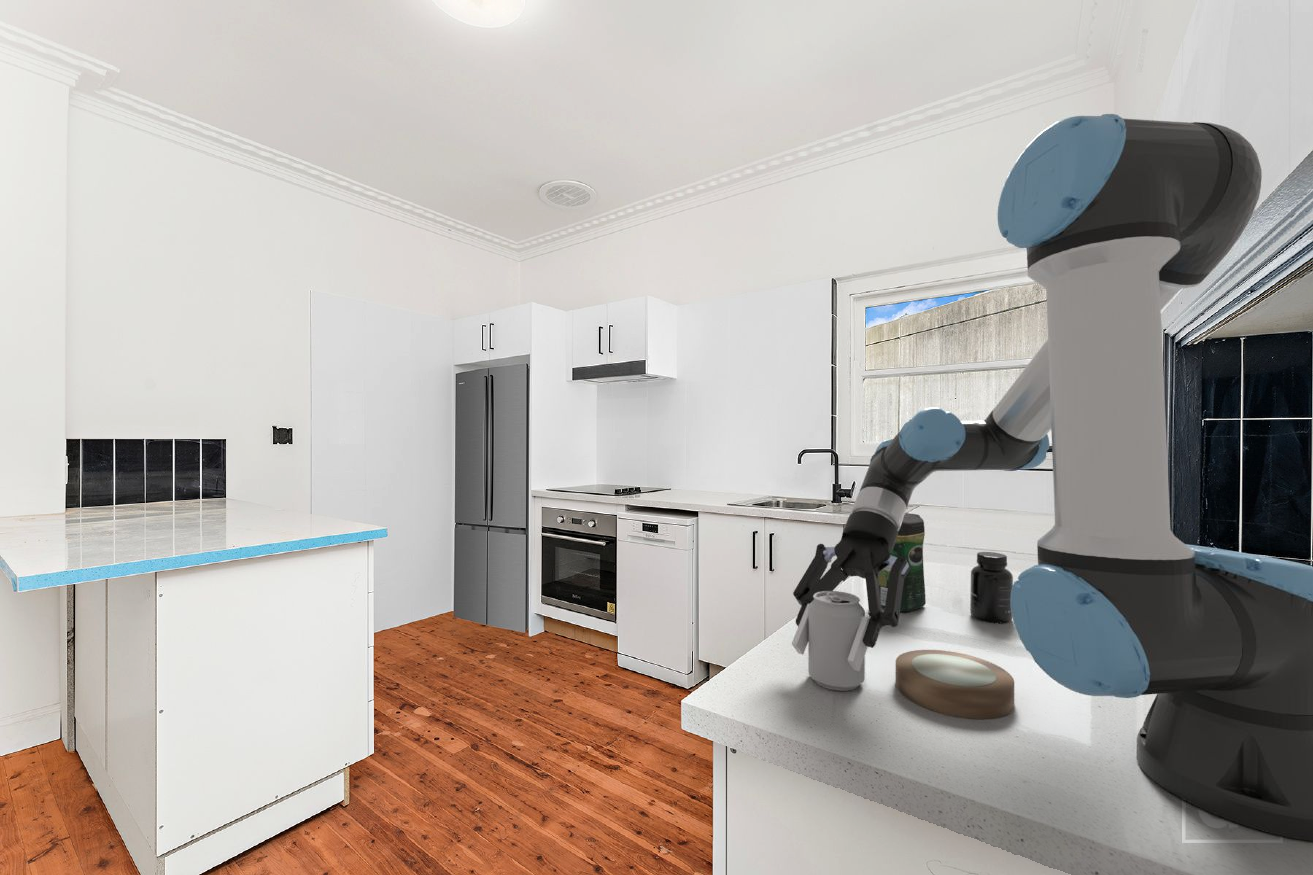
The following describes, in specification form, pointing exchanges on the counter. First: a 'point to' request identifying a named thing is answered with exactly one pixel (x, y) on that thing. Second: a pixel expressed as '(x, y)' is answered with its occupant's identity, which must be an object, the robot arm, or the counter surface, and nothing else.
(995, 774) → the counter surface
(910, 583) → the coffee jar
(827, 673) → the can
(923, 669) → the pedestal
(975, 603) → the supplement bottle
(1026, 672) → the counter surface
